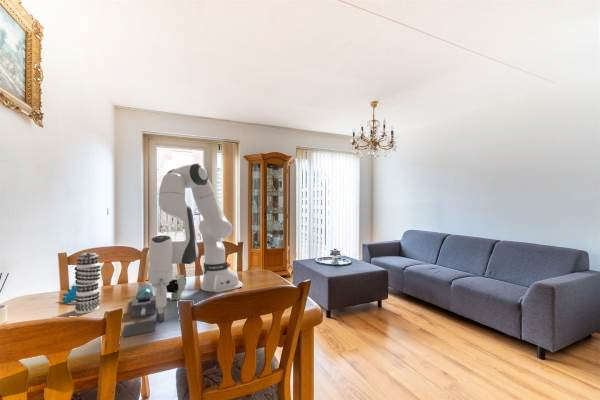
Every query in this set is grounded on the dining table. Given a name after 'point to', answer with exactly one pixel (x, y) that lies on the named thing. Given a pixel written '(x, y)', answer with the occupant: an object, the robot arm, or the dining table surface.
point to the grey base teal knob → (143, 302)
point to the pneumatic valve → (176, 286)
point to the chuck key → (160, 316)
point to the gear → (70, 295)
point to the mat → (139, 328)
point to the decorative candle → (87, 282)
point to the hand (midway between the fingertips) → (160, 310)
